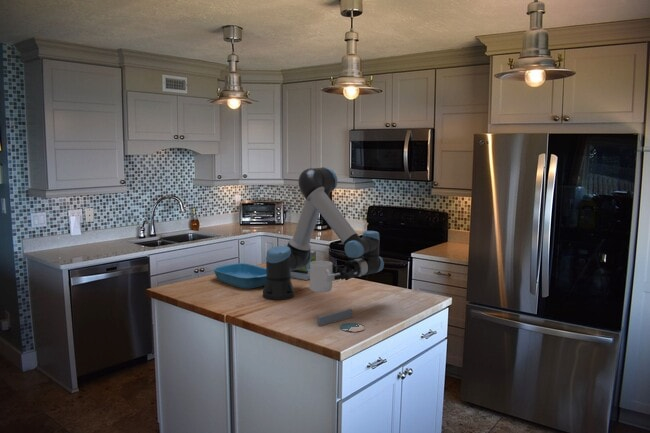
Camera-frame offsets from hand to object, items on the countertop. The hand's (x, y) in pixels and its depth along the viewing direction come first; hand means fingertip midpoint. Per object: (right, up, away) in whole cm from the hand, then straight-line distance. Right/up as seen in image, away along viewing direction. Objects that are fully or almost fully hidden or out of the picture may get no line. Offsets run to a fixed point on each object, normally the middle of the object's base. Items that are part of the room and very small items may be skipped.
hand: (317, 275), depth 217 cm
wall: (+7, -19, -1) cm, 20 cm away
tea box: (-11, -9, +71) cm, 72 cm away
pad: (+14, -20, -9) cm, 26 cm away
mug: (+2, -7, +3) cm, 8 cm away
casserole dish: (-40, -11, +59) cm, 72 cm away
